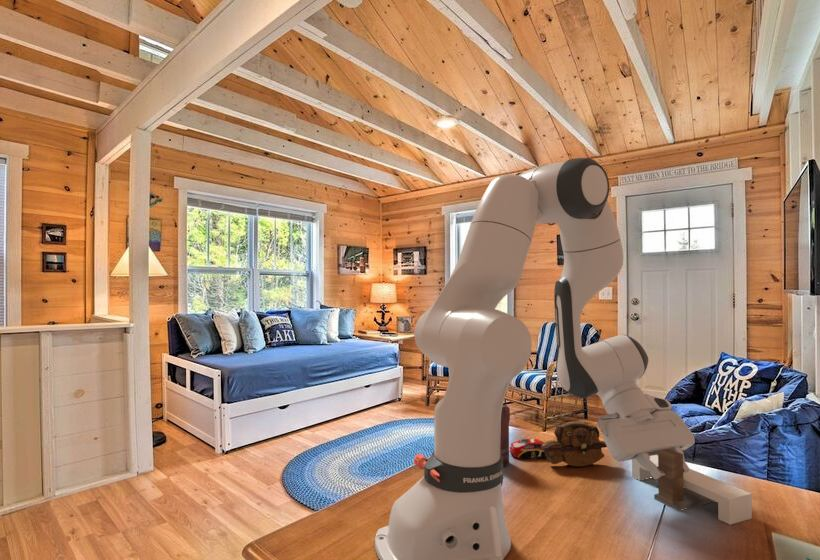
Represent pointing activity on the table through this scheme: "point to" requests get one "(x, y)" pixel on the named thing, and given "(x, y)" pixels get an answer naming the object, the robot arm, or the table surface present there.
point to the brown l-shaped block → (675, 483)
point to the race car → (527, 449)
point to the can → (505, 434)
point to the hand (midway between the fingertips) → (672, 475)
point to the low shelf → (710, 492)
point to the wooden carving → (575, 445)
